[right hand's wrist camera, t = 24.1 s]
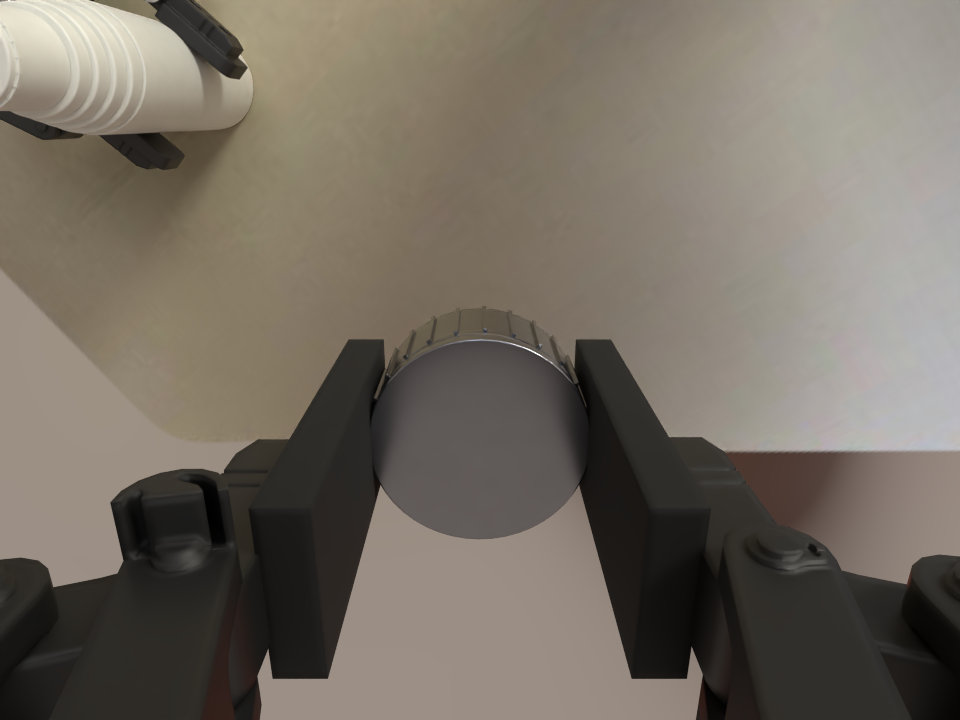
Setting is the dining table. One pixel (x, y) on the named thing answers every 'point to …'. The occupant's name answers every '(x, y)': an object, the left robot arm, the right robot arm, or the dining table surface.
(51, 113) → the bottle
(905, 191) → the dining table surface
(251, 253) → the dining table surface
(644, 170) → the dining table surface
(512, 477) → the cap
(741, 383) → the dining table surface
